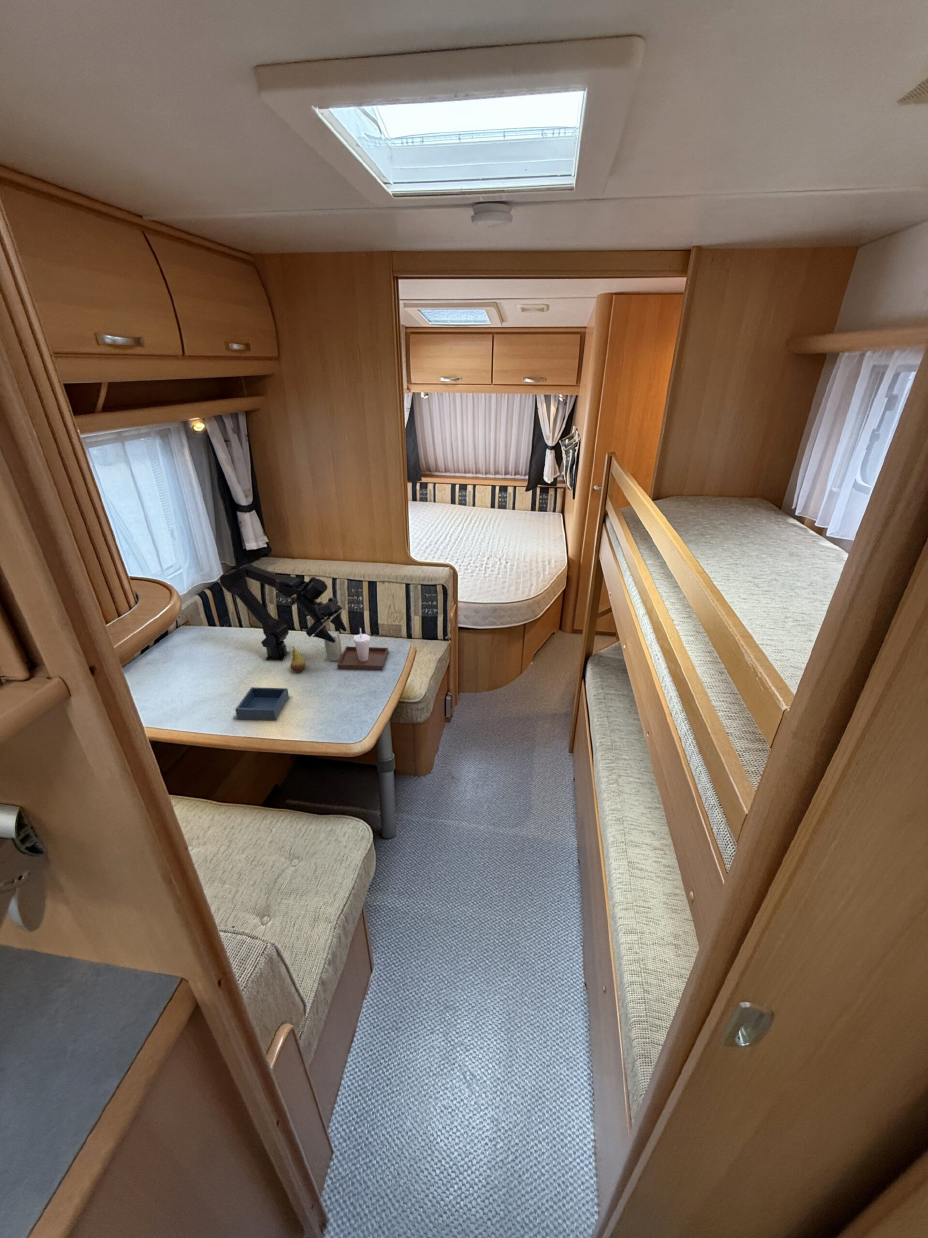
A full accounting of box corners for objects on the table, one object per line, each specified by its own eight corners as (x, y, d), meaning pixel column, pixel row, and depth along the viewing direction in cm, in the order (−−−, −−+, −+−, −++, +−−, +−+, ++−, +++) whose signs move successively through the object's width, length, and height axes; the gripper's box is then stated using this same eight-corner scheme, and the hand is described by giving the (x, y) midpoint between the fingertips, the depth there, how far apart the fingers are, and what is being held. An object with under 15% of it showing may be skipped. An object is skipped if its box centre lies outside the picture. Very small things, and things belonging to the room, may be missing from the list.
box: (342, 655, 198) (340, 631, 193) (339, 661, 194) (336, 636, 189) (329, 655, 198) (327, 630, 193) (326, 660, 194) (323, 635, 190)
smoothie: (352, 662, 193) (349, 630, 186) (358, 654, 198) (356, 623, 192) (368, 664, 192) (365, 632, 185) (374, 655, 197) (371, 624, 191)
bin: (237, 719, 160) (235, 709, 158) (253, 696, 171) (251, 687, 170) (275, 720, 160) (274, 710, 158) (289, 697, 171) (287, 688, 170)
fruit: (309, 669, 188) (306, 642, 183) (297, 676, 184) (293, 648, 178) (300, 665, 191) (296, 637, 186) (288, 671, 187) (283, 643, 181)
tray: (337, 669, 189) (337, 664, 188) (346, 650, 202) (346, 646, 201) (382, 670, 189) (382, 665, 188) (388, 652, 201) (388, 647, 200)
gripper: (309, 604, 170) (341, 636, 173) (335, 584, 186) (364, 614, 189) (292, 621, 175) (323, 652, 178) (318, 601, 191) (346, 629, 194)
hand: (340, 636), depth 184 cm, fingers open, 9 cm apart
